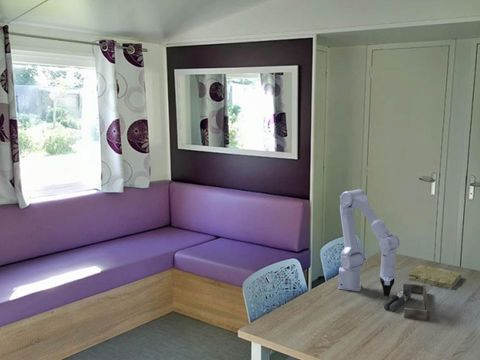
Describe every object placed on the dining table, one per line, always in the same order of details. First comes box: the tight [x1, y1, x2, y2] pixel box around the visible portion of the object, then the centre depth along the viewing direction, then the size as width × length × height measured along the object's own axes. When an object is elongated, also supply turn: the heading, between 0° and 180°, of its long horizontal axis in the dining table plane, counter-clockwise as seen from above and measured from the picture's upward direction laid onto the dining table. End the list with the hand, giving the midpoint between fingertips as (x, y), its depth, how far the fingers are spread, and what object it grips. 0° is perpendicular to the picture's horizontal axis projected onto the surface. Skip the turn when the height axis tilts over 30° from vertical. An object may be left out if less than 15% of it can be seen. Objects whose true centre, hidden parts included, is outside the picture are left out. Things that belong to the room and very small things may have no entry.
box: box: [402, 282, 430, 321], centre depth 201 cm, size 9×28×4 cm, turn 163°
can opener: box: [383, 285, 413, 313], centre depth 202 cm, size 19×5×6 cm, turn 139°
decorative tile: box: [407, 264, 462, 290], centre depth 230 cm, size 19×20×4 cm
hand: (386, 295), depth 204 cm, fingers closed
